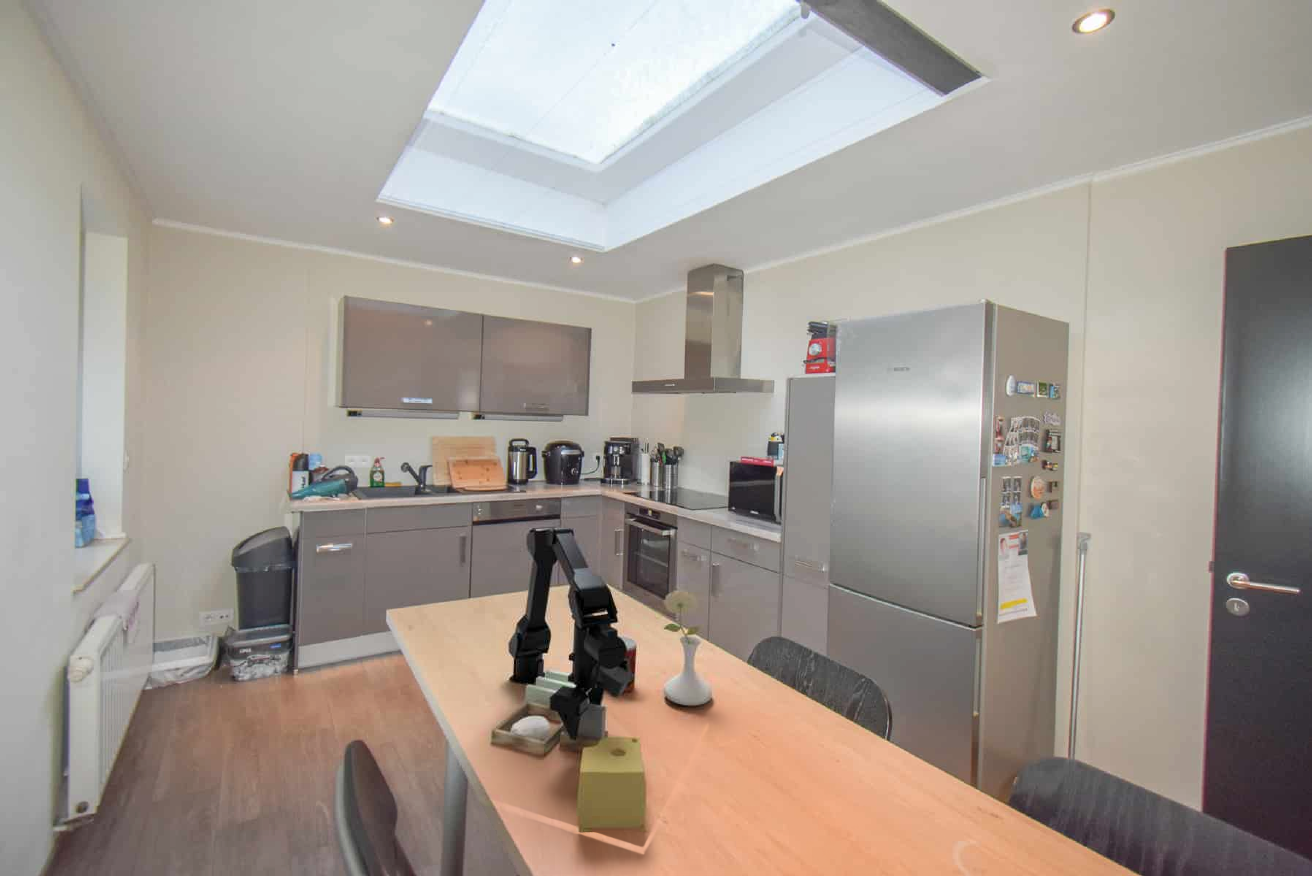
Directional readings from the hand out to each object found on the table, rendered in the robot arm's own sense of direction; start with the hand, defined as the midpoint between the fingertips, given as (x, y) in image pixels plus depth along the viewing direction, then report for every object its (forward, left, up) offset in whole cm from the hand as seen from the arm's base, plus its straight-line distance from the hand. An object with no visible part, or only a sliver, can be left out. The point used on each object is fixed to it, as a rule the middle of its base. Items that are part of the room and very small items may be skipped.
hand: (584, 727), depth 111 cm
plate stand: (0, 0, -4) cm, 4 cm away
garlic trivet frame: (-11, 0, -4) cm, 12 cm away
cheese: (+12, -14, -5) cm, 19 cm away
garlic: (-11, -1, -5) cm, 13 cm away
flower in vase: (+12, +28, -4) cm, 31 cm away
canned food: (-4, +26, -5) cm, 27 cm away
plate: (0, 0, -4) cm, 4 cm away
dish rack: (-12, +13, -4) cm, 18 cm away
